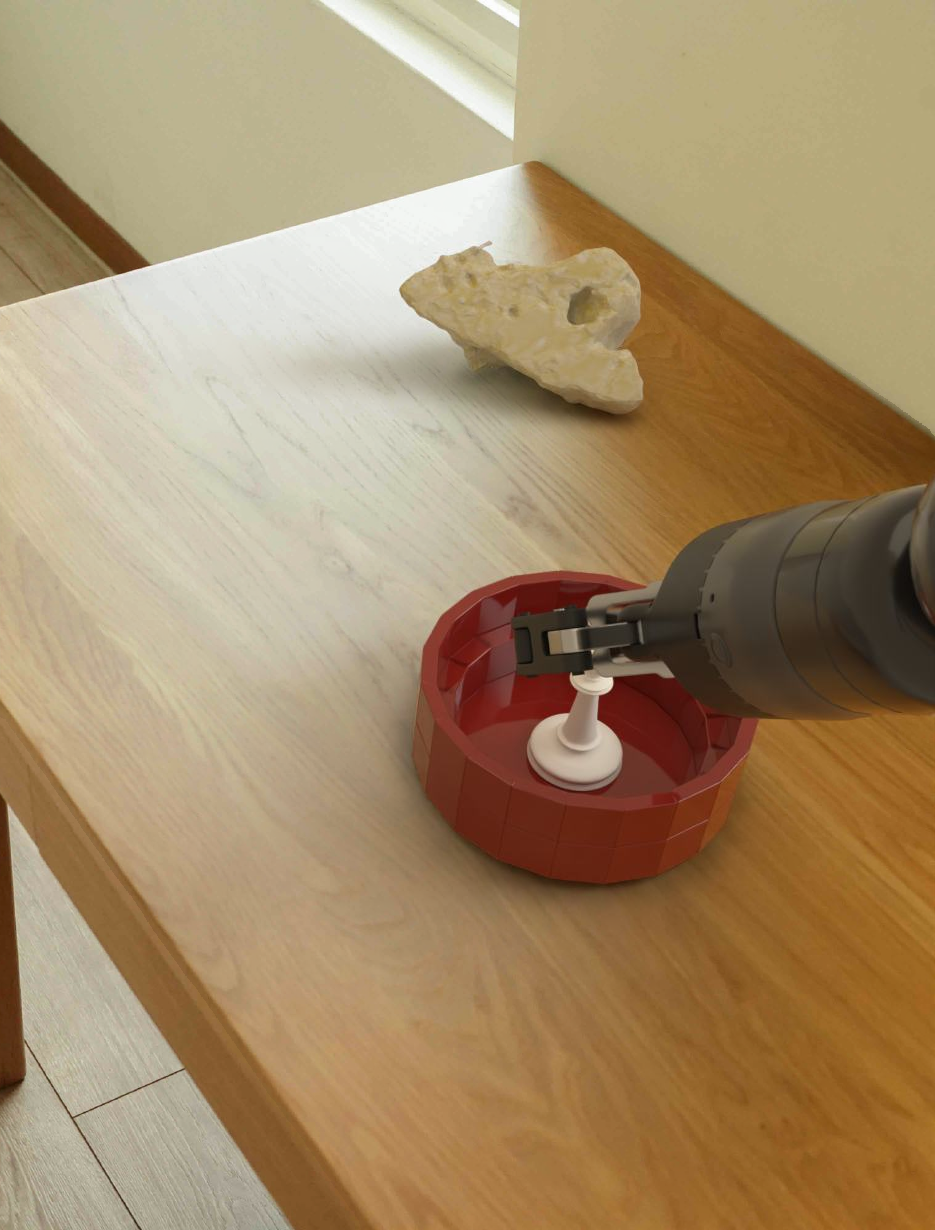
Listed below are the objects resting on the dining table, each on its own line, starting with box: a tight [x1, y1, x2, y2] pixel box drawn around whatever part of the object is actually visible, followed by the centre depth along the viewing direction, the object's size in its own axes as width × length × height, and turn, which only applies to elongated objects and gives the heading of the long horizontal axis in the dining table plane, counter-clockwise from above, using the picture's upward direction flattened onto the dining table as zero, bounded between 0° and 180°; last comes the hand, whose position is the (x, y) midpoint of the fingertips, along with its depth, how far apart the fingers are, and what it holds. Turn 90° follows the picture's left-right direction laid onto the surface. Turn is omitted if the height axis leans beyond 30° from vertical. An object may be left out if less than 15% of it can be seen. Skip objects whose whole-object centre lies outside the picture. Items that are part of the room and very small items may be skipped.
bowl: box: [411, 569, 760, 884], centre depth 78 cm, size 17×17×6 cm
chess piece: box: [527, 622, 622, 791], centre depth 76 cm, size 5×5×10 cm
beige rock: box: [398, 240, 644, 415], centre depth 105 cm, size 15×7×15 cm
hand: (629, 632), depth 70 cm, fingers open, 8 cm apart
